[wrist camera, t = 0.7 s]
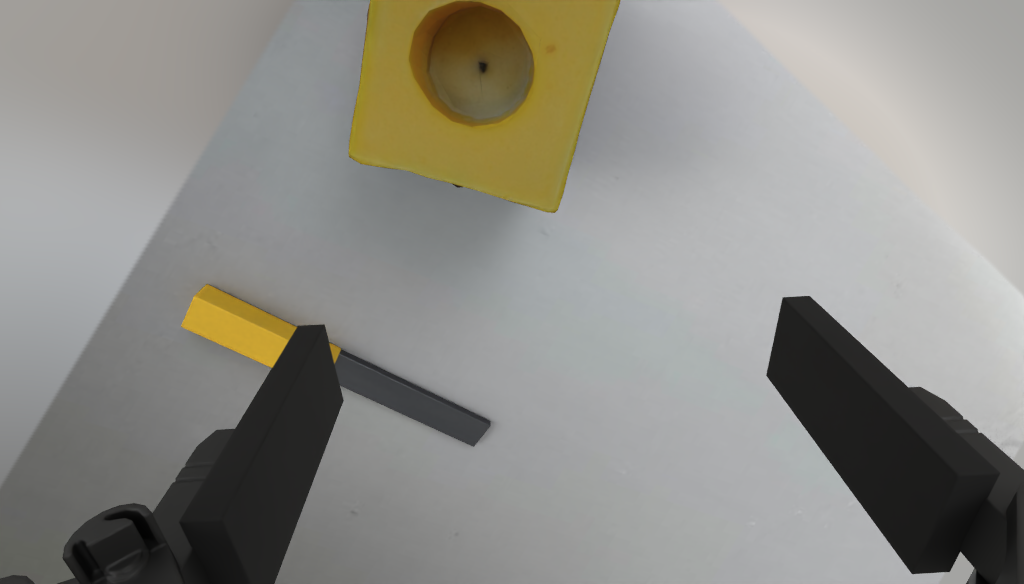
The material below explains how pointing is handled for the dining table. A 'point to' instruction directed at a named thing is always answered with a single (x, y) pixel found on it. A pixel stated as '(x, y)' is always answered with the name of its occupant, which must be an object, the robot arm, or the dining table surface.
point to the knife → (270, 335)
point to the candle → (479, 91)
